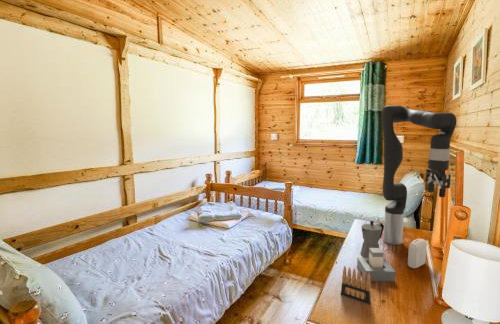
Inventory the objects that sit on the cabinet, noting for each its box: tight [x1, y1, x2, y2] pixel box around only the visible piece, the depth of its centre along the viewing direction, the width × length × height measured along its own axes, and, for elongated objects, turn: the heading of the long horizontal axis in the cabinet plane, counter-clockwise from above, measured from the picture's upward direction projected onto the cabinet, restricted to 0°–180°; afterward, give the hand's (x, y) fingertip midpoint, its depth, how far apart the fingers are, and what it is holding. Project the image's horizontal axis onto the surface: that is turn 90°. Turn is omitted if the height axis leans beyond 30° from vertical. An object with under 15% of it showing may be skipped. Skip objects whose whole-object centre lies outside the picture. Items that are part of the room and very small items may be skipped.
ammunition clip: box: [340, 265, 372, 305], centre depth 107 cm, size 11×2×12 cm, turn 55°
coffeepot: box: [360, 220, 384, 258], centre depth 141 cm, size 15×9×18 cm, turn 118°
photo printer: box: [407, 238, 428, 269], centre depth 131 cm, size 10×4×12 cm, turn 123°
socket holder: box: [356, 256, 396, 283], centre depth 124 cm, size 12×12×4 cm
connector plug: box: [369, 247, 385, 268], centre depth 124 cm, size 4×4×10 cm
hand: (436, 194), depth 126 cm, fingers open, 8 cm apart
